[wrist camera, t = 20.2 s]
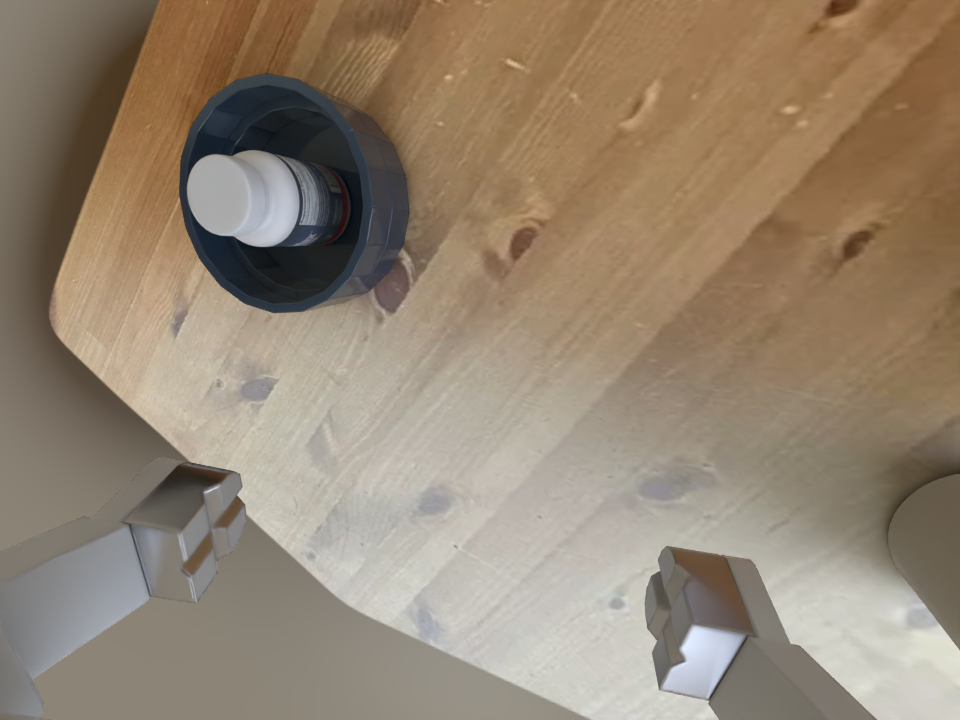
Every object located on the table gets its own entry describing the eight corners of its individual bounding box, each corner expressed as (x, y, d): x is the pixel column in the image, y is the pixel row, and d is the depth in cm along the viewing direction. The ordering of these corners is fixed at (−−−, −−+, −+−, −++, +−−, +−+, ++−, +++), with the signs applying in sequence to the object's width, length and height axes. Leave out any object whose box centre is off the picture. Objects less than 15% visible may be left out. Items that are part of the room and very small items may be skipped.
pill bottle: (287, 244, 36) (180, 246, 27) (282, 164, 34) (168, 141, 26) (355, 247, 34) (263, 249, 26) (352, 163, 33) (255, 139, 25)
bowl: (229, 116, 36) (159, 95, 30) (401, 83, 32) (354, 53, 26) (260, 306, 38) (201, 316, 33) (422, 297, 34) (384, 308, 29)
